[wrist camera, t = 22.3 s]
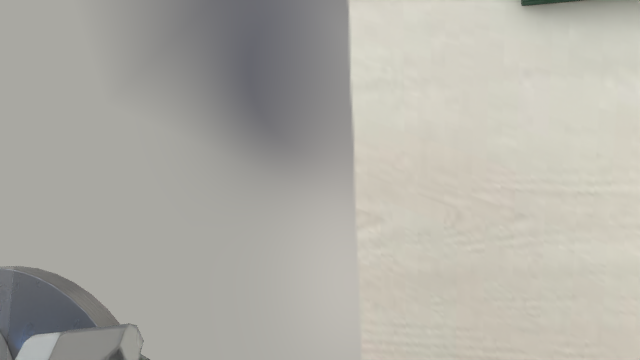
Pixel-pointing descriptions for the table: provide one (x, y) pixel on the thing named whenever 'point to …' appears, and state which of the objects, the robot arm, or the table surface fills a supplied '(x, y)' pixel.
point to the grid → (542, 1)
